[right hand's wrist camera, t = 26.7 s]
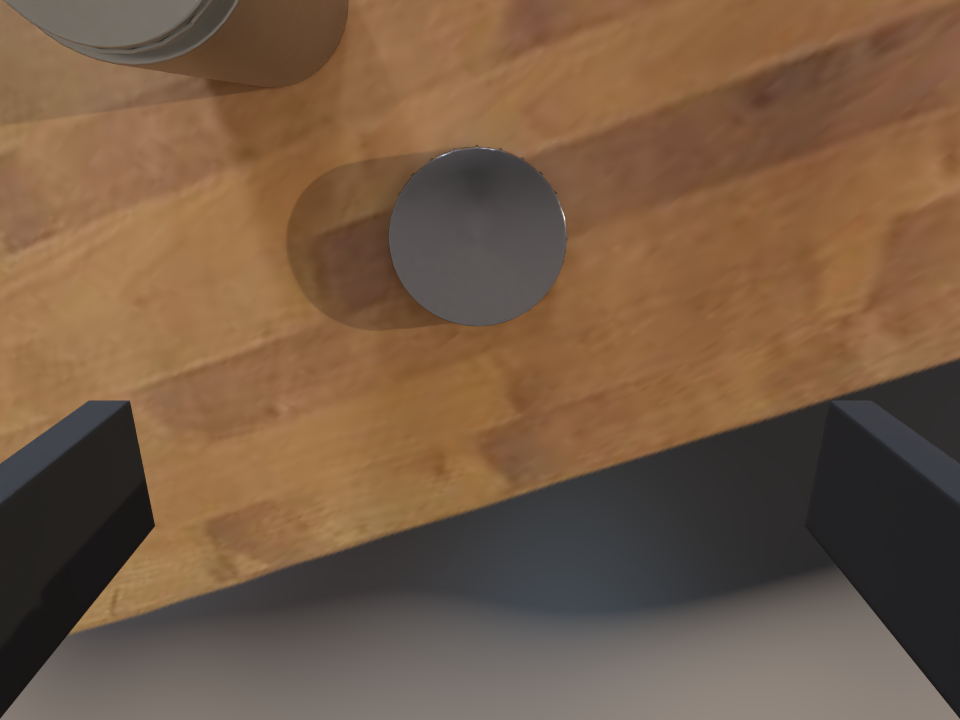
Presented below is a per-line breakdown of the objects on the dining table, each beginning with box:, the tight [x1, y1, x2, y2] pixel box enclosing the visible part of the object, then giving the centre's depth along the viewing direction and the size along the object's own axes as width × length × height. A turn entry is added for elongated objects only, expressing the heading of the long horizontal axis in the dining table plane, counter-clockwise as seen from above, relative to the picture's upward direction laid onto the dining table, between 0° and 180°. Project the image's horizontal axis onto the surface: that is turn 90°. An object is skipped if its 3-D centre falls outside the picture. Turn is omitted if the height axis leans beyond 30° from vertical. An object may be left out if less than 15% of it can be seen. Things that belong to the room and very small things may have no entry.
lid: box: [388, 145, 567, 326], centre depth 37 cm, size 10×10×2 cm
